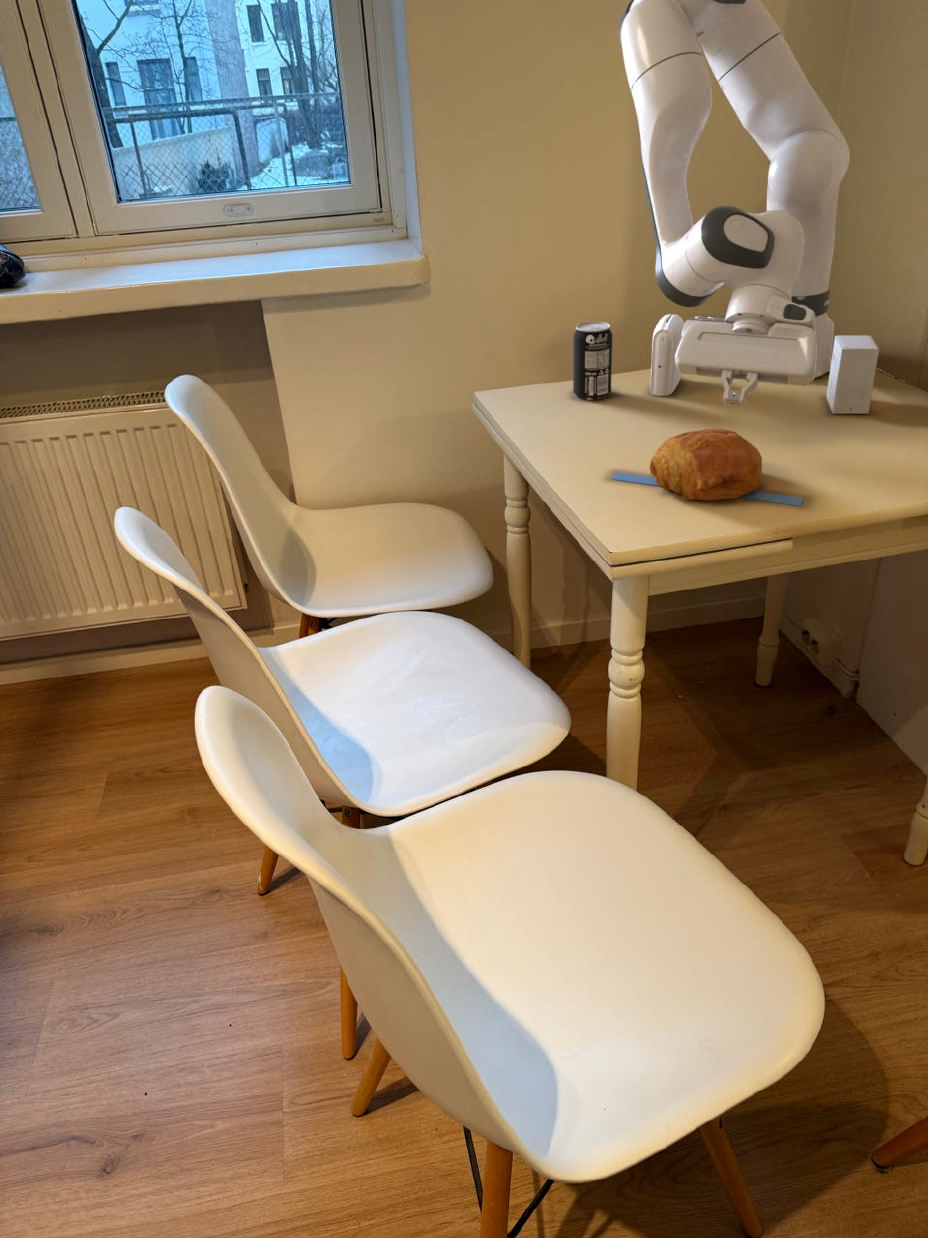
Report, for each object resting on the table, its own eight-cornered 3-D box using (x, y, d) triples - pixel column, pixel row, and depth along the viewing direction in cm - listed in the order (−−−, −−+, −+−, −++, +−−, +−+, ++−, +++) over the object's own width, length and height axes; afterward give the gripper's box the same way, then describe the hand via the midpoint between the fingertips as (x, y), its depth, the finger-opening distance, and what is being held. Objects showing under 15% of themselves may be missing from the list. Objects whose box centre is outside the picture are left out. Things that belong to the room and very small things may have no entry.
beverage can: (584, 386, 169) (585, 319, 162) (617, 391, 165) (619, 323, 159) (566, 397, 164) (566, 328, 158) (599, 403, 161) (600, 332, 155)
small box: (868, 414, 149) (880, 348, 143) (831, 414, 150) (841, 348, 144) (860, 398, 156) (871, 334, 150) (825, 397, 157) (835, 334, 151)
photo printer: (671, 397, 161) (676, 324, 155) (647, 395, 163) (650, 323, 156) (683, 379, 169) (688, 309, 163) (659, 377, 171) (663, 308, 164)
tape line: (617, 472, 135) (617, 472, 135) (803, 498, 125) (803, 497, 125) (611, 479, 134) (611, 478, 133) (800, 505, 123) (800, 505, 123)
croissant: (643, 481, 137) (637, 429, 133) (748, 459, 137) (746, 406, 133) (668, 521, 125) (663, 465, 121) (784, 496, 124) (783, 440, 120)
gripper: (684, 302, 141) (660, 386, 139) (826, 311, 132) (803, 400, 130) (690, 324, 147) (667, 405, 145) (826, 335, 138) (804, 420, 136)
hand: (733, 403), depth 137 cm, fingers closed
